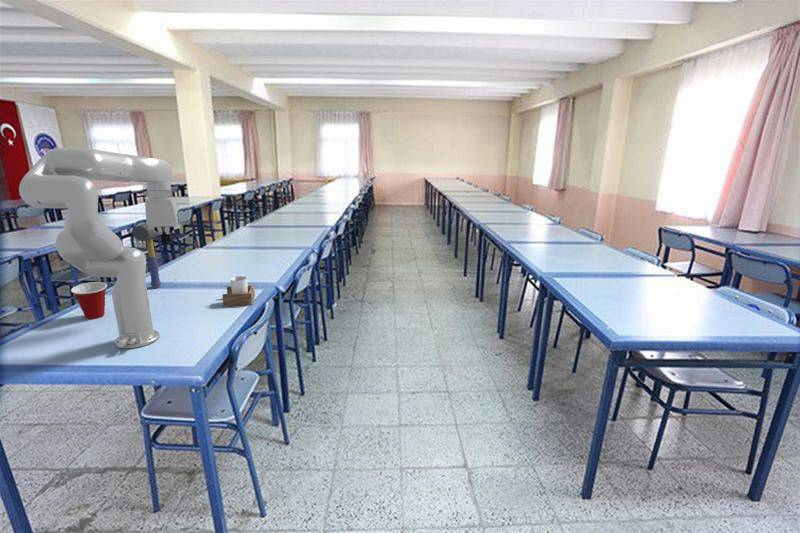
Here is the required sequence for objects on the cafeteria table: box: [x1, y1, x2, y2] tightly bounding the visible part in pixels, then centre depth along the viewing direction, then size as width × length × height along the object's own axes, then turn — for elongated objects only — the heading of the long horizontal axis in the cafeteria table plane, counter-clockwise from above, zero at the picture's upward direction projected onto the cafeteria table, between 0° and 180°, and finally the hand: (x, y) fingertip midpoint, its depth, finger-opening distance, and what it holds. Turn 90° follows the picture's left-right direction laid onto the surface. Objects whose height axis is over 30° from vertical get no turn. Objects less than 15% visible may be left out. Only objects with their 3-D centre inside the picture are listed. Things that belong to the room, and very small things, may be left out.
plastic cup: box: [70, 281, 108, 320], centre depth 153 cm, size 11×11×12 cm
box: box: [222, 284, 256, 307], centre depth 173 cm, size 11×11×5 cm
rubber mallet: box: [132, 222, 162, 289], centre depth 184 cm, size 12×8×30 cm, turn 3°
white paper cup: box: [229, 275, 249, 294], centre depth 172 cm, size 7×7×10 cm
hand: (166, 244), depth 154 cm, fingers closed
